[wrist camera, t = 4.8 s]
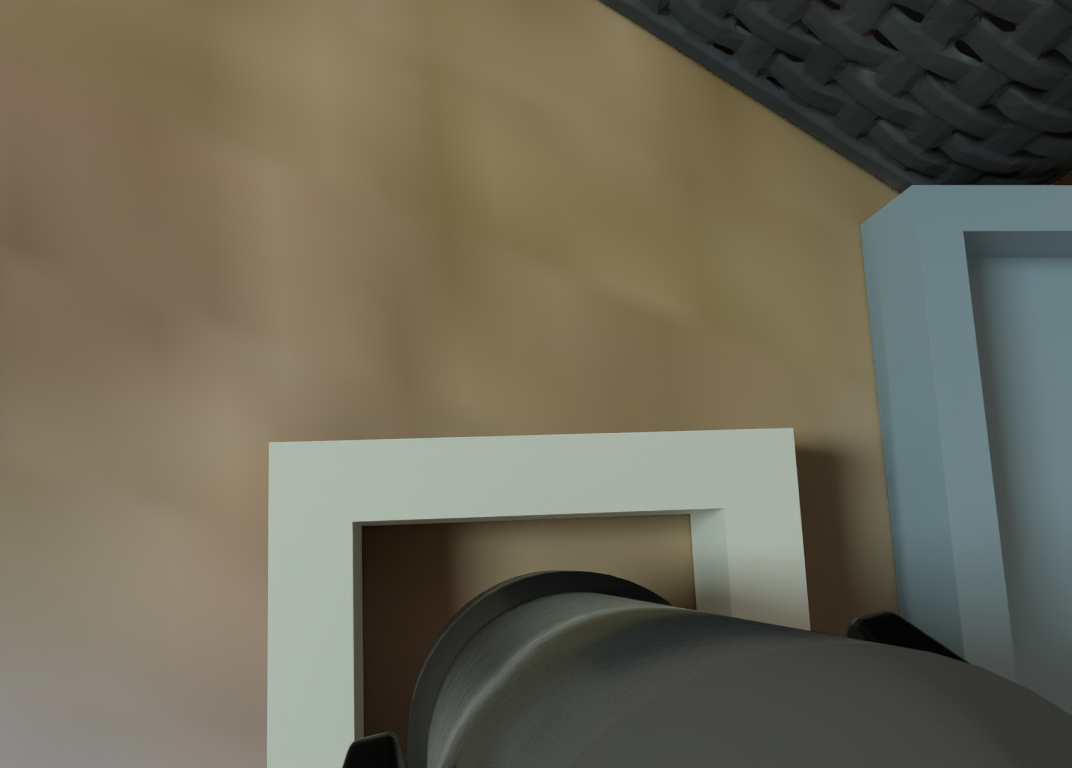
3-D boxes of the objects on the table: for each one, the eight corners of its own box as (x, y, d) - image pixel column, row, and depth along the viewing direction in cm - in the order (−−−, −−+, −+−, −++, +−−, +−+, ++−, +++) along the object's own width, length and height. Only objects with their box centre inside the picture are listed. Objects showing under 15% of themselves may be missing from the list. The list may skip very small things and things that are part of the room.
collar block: (790, 933, 20) (841, 985, 17) (286, 976, 19) (265, 1040, 16) (751, 442, 22) (793, 428, 19) (288, 456, 20) (268, 442, 18)
